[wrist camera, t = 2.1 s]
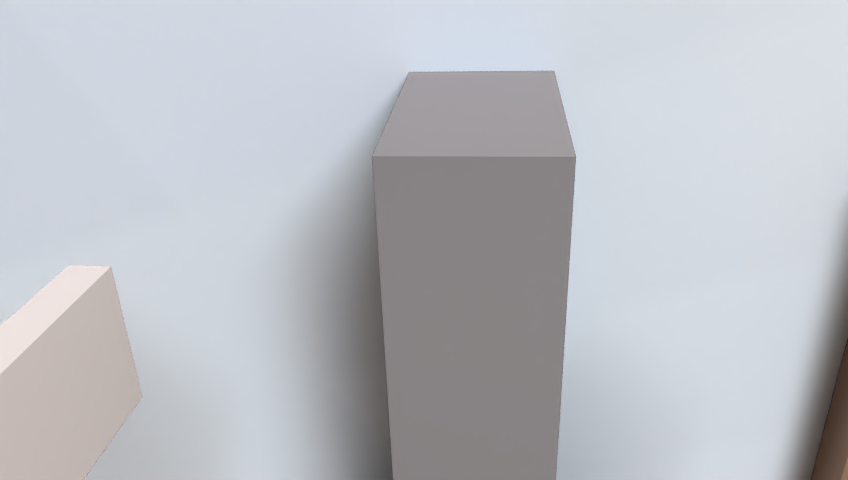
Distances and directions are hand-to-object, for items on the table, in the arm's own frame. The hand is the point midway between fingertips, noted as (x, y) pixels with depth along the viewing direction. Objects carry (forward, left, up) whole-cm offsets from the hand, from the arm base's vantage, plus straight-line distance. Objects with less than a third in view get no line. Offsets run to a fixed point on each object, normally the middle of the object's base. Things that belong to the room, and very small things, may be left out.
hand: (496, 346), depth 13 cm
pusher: (0, -4, -8) cm, 9 cm away
